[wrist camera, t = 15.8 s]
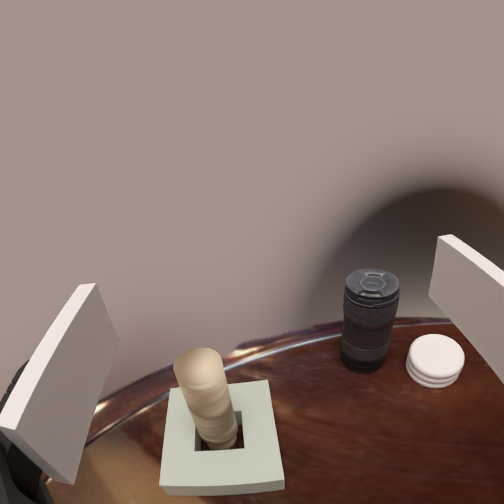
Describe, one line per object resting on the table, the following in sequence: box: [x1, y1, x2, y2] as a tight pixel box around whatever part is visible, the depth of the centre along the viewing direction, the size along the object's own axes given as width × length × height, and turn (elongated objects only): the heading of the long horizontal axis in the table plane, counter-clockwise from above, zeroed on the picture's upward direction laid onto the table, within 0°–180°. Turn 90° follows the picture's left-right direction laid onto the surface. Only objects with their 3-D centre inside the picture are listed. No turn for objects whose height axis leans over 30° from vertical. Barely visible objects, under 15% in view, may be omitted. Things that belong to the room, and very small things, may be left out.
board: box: [159, 380, 285, 496], centre depth 34 cm, size 14×16×4 cm
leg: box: [173, 348, 238, 451], centre depth 32 cm, size 5×5×16 cm
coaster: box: [406, 334, 464, 388], centre depth 41 cm, size 10×10×4 cm
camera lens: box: [341, 269, 400, 373], centre depth 44 cm, size 8×8×15 cm
